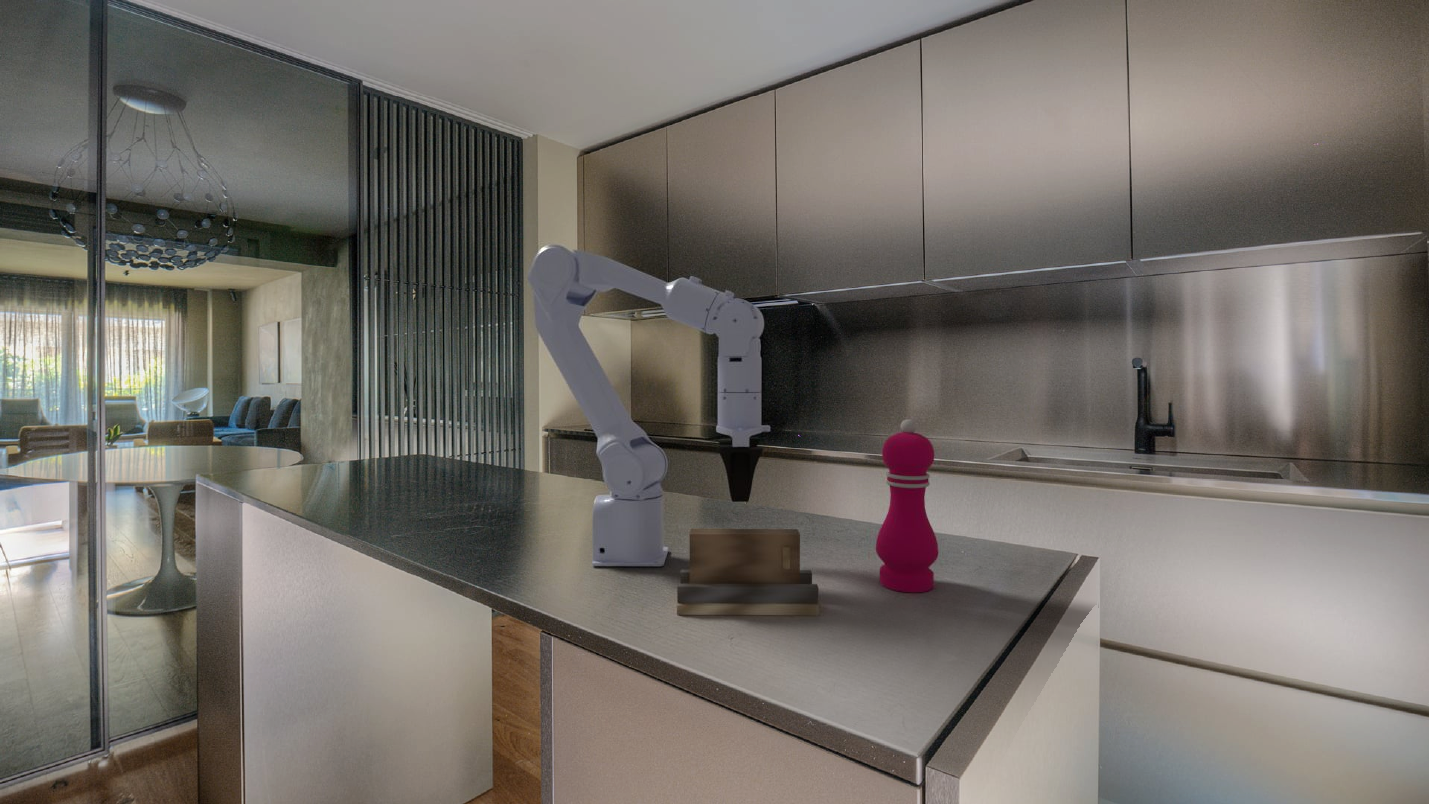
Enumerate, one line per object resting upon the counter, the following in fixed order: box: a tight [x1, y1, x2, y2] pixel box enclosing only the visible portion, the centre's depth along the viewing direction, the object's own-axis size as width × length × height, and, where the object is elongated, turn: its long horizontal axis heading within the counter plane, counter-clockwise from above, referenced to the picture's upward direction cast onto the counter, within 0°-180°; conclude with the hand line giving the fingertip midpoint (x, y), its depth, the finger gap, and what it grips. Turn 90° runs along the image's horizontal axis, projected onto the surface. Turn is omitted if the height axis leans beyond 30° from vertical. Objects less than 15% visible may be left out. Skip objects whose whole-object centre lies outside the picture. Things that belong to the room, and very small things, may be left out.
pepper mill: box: [875, 418, 939, 594], centre depth 76 cm, size 7×7×20 cm
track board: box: [676, 569, 820, 616], centre depth 70 cm, size 15×7×3 cm, turn 89°
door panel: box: [689, 528, 801, 584], centre depth 70 cm, size 12×3×7 cm, turn 89°
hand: (739, 495), depth 83 cm, fingers open, 7 cm apart
